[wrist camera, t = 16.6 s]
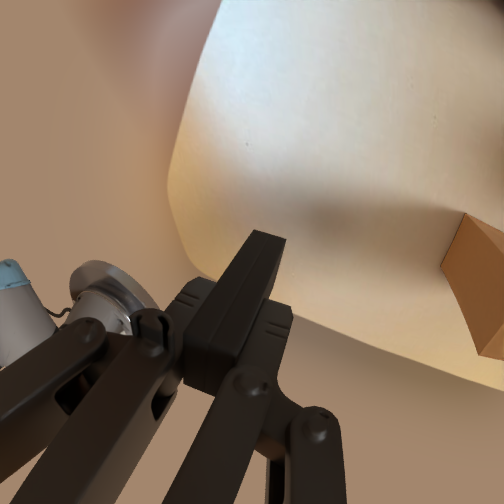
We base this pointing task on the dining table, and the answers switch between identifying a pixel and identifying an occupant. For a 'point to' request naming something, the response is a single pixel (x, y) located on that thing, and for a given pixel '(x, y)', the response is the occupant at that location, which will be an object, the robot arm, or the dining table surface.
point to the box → (479, 283)
